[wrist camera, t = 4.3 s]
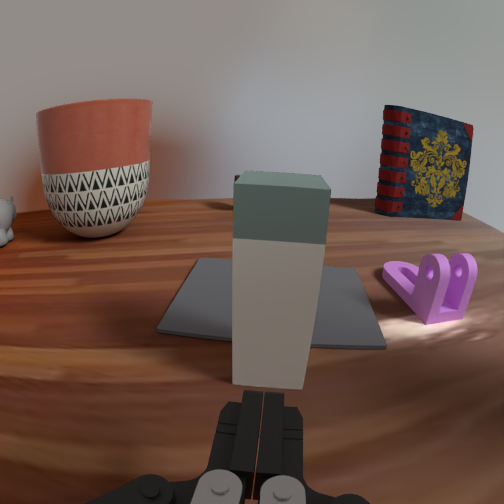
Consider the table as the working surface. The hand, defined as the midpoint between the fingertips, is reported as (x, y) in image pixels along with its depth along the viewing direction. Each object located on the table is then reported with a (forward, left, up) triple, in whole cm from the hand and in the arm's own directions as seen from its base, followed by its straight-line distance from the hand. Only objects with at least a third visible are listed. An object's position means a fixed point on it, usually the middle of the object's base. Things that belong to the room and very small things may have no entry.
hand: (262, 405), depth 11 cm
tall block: (0, -11, -7) cm, 13 cm away
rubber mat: (0, -21, -7) cm, 22 cm away
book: (-34, -64, -8) cm, 73 cm away
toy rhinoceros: (+50, -31, -8) cm, 59 cm away
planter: (+30, -37, -8) cm, 48 cm away
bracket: (-17, -24, -8) cm, 30 cm away
